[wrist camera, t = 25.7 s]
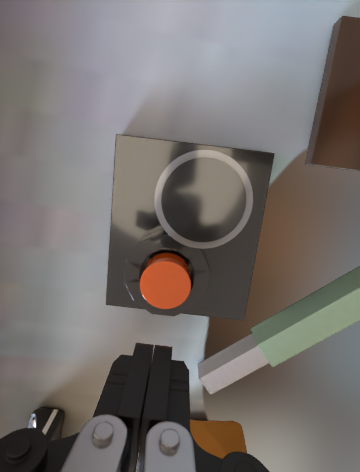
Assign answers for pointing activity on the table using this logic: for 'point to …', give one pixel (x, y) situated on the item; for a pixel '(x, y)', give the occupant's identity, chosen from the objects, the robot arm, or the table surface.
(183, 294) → the button
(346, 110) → the stand
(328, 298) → the green and grey stick
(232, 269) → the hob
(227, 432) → the coffee package
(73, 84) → the table surface
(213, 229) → the burner ring
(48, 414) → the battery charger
